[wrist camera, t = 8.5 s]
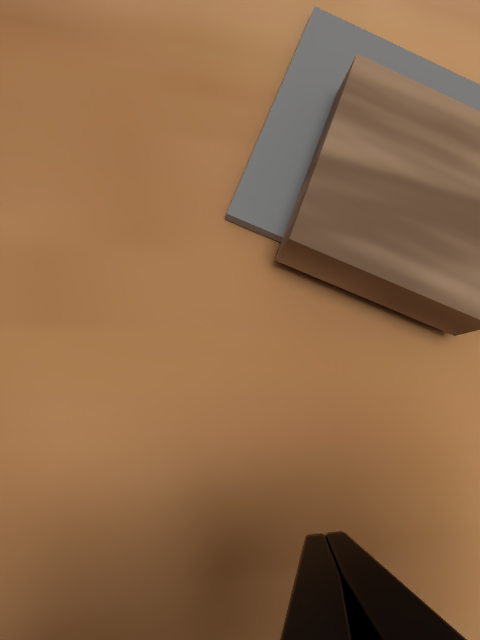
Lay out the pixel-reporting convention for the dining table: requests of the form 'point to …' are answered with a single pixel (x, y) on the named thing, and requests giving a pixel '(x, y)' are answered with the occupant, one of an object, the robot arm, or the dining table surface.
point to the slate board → (319, 115)
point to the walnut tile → (394, 200)
